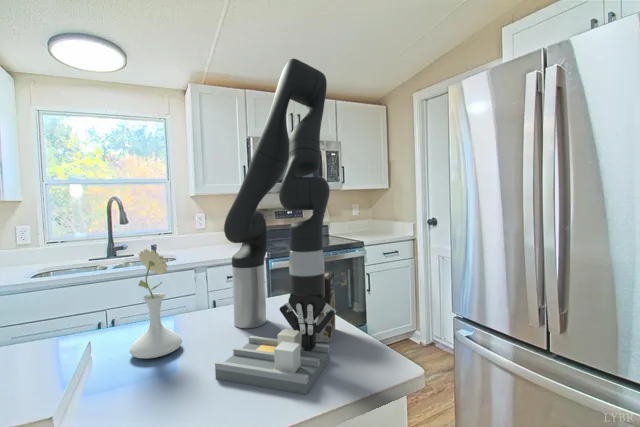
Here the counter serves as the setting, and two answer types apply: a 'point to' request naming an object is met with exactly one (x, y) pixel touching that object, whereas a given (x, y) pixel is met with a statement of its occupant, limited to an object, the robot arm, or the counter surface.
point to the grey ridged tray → (272, 366)
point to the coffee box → (329, 294)
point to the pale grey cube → (287, 357)
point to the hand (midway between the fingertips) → (309, 349)
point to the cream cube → (289, 336)
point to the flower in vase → (154, 315)
